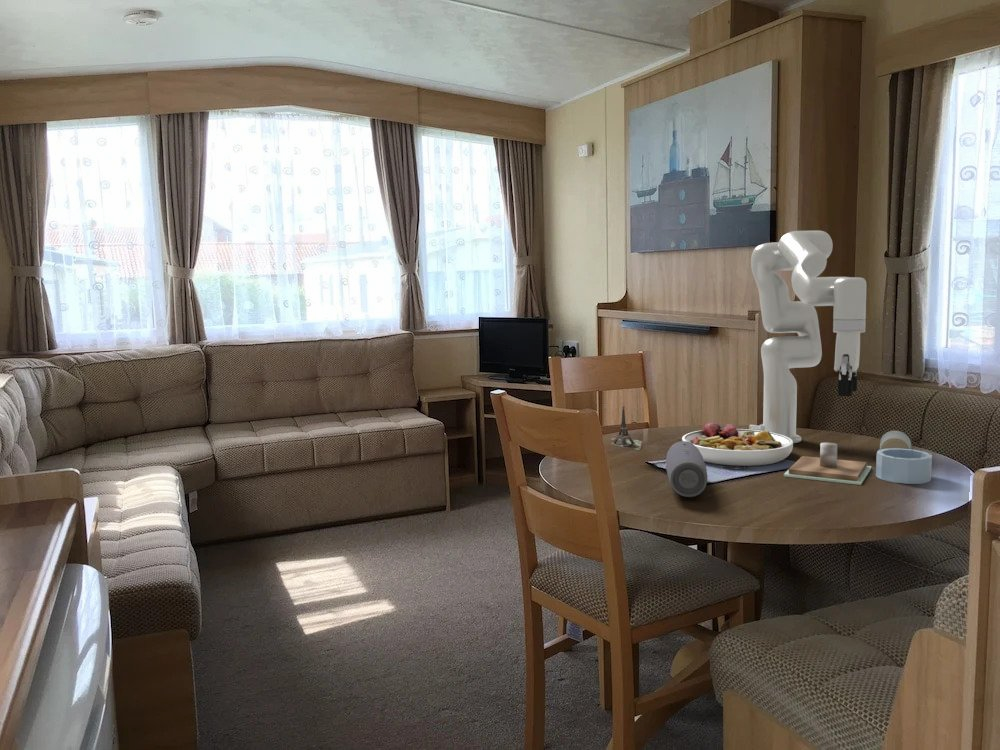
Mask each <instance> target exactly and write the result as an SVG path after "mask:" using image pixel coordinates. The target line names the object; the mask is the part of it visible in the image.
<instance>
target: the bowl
mask: <svg viewBox="0 0 1000 750" xmlns="http://www.w3.org/2000/svg"><path fill="white" fill-rule="evenodd" d="M681 437H682V438H681V441H687V442H690V443H692V444H693V445H695V446H696V447H697V448H698V450H699V451H700V453H701V455H702V457H703V459H704V462H705V463H709V464H714V465H721V466H722V465H723V466H736V467H753V466H754V467H757V466H765V465H772V464H775V463H776V464H777V463H779V462H781V461H784V460H785V459H787V458H788V457H789V456H790V454H791V453H792V452H793V448H794V443H793V441H792V439H790V438H789V437H786V436H784V435H781V434H777V433H772V432H769V431H768V432H767V431H759V430H749V428H748V429H747V428H746V429H745V428H737V427H736V426H735V425H734V424H731V423H728V424H724V426H723V427H721V425H720V423H718V422H716V421H710V422H707V423H705V424H704V425H703V426H702V430H696V431H691V432H689V433H686V434H684V435H683V436H681Z"/></svg>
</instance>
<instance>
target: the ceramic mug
mask: <svg viewBox="0 0 1000 750" xmlns="http://www.w3.org/2000/svg"><path fill="white" fill-rule="evenodd" d="M911 441H912V440H910V438H909V436H908V435H907V434H906V433H904V432H902V431H900V430H889V431H887V432H885V433H884V434H883V435H882V436H881V438H880V440H879V450H882V449H891V448H901V449H912V442H911Z"/></svg>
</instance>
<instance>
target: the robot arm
mask: <svg viewBox="0 0 1000 750" xmlns="http://www.w3.org/2000/svg"><path fill="white" fill-rule="evenodd" d="M833 243H834V242H833V240H832V238H831V236H830V234H829V233H827V232H826V231H823V230H819V229H818V230H792V231H789V232H787V233H785V234H783V235H782V236H781V238H780V239H779V241H777V242H775V241H774V242H765V243H762V244H759V245H757V246H755V248H754V249H753V251H752V253H751V259H750V267H751V274H752V276H753V278H754V281H755V283H756V287H757V289H758V295H759V304H760V305H759V306H760V311H761V312H760V313H761V319H762V320H761V321H762V326H763V328H764V330H765V331H766V332H767V333H771V334H789V333H791V334H792V333H797V335H796V336H795V335H794V336H793V335H789V336H788V335H787V336H774V337H770V338H767V339H766V340H764V342H763V343H762V344H761V347H760V356H761V361H762V362H761V363H762V371H763V403H762V407H763V409H762V411H763V413H762V417H763V418H762V420H763V421H762V423H761V424H759V425H758V424H757V425H756V424H749V426H748V430H759V431H767V432H768V431H769V432H772V433H777V434H781V435H784V436H786V437H789V438H790V439H792V441H793V444H797V443H800V442H801V441H802V436H800V435H798V434H797V409H798V408H797V405H798V403H797V401H798V400H797V399H798V398H797V397H798V396H797V395H798V384H797V380H796V378H795V376H794V375H793V374H792V372H791V370H790V369H795V368H796V369H797V368H799V369H801V368H803V369H804V368H812V367H816V366H817V365H819V364H820V362H821V360H822V357H823V352H822V351H823V349H822V341H821V340H822V339H821V334H820V332H821V331H820V325H819V324H820V323H819V318H818V312H817V310H816V307H828V306H829V307H833V312H832V313H833V314H832V315H833V319H832V320H833V321H832V326H833V327H832V333H836V336H835V337H836V338H835V349H834V350H835V352H834V366H833V370H834V371H835V372H839V374H838V379H837V380H838V381H837V382H838V385H837V395H838V396H839V397H852V396H853V392H857V390H858V375H857V374H858V371H857V370H858V369H859V366H860V358H861V357H860V356H861V355H860V354H861V353H860V352H861V334H863V333H866V324H867V323H866V320H867V319H866V317H867V281H866V279H865V278H864V277H861V276H859V277H858V276H857V277H855V276H854V277H853V276H851V277H850V276H820V275H821V274H822V273H823V272H824V271H825V269H826V267H827V263H828V261H827V259H828V258H829V257H830V256H831V254H832V252H833V245H834V244H833ZM778 271H779V272H780V271H792V273H791V277H790V278H791V281H790V282H791V287H792V290H793V293H794V294H795V295H796V297H797V298H798V299H799V300H797V301H794V300H793V301H792V300H791V299H790V295H789V287H788V285H787V283H786V281H785V280H784V279H783V277H781V276H780V275H779V273H777V272H778Z"/></svg>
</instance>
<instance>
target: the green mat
mask: <svg viewBox="0 0 1000 750" xmlns="http://www.w3.org/2000/svg"><path fill="white" fill-rule="evenodd" d="M871 470H872V466H871V465H867V467H866V468H865V470H864V471H863V473H862V474H861V476H860V477H859V479H858V480H857V481H851V480H842V479H832V478H823V477H814V476H805V475H796V474H789V468H788V469H787V470H786V471H785V472H784V473H783V477H785V478H794V479H803V480H811V481H812V480H813V481H820V482H821V481H822V482H829V483H830V482H832V483H838V484H839V483H840V484H849V485H857V486H862V484H863V482H864V481H865V479H866V478H867V476H868V475H869V473H870V471H871Z"/></svg>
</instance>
